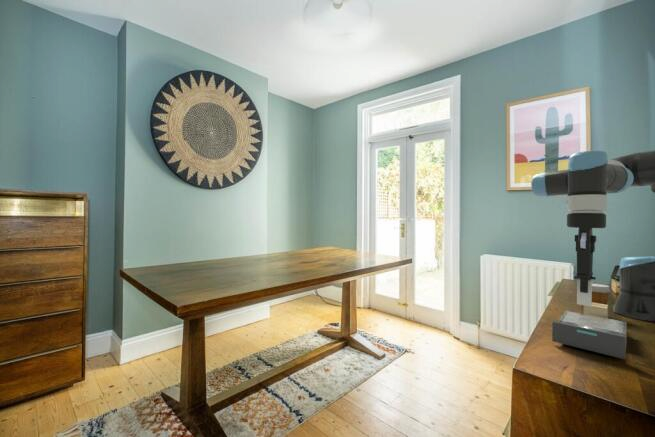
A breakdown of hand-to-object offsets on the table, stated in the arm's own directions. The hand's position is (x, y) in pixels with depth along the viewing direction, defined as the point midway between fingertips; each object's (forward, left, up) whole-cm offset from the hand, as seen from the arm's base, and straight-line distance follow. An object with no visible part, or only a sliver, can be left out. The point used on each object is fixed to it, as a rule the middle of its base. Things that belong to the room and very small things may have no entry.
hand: (584, 304), depth 74 cm
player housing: (-19, -18, -14) cm, 30 cm away
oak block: (-28, -28, -14) cm, 42 cm away
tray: (-10, -9, -13) cm, 19 cm away
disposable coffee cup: (-37, -39, -15) cm, 56 cm away
